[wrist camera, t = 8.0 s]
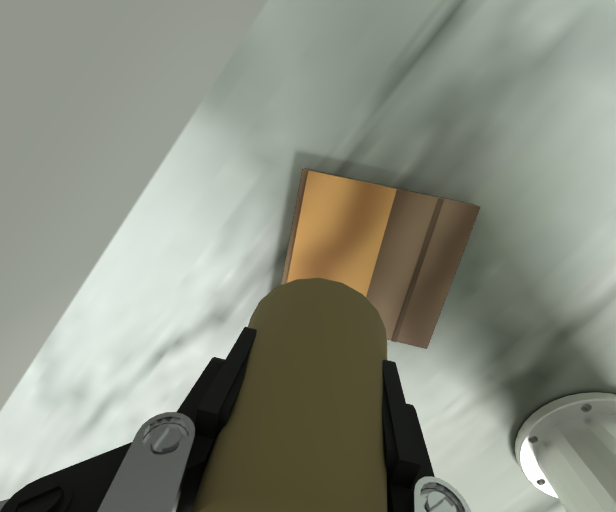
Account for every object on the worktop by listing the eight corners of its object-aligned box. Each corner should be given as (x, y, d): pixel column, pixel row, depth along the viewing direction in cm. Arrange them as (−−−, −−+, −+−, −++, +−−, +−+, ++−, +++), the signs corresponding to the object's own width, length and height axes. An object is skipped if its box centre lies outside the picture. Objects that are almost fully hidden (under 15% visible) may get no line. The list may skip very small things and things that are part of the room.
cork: (396, 283, 12) (709, 1038, 2) (379, 406, 14) (483, 1130, 4) (246, 272, 13) (-196, 791, 2) (249, 391, 15) (12, 980, 4)
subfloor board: (472, 204, 25) (481, 207, 23) (422, 339, 29) (427, 350, 28) (304, 168, 26) (302, 169, 24) (279, 305, 30) (275, 313, 28)
